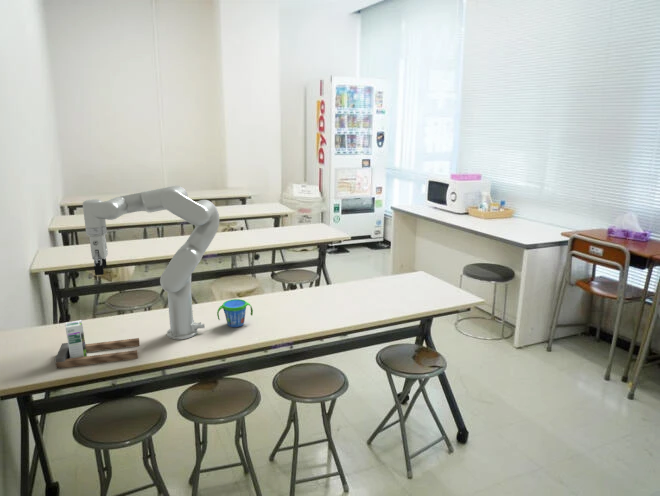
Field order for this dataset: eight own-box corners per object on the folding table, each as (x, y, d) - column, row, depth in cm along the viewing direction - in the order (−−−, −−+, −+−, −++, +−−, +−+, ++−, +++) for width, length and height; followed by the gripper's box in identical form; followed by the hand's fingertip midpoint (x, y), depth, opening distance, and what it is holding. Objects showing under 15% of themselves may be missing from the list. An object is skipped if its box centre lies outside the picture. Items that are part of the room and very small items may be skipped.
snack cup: (218, 331, 213) (217, 309, 210) (217, 321, 223) (216, 300, 220) (254, 327, 216) (253, 306, 214) (252, 318, 226) (251, 297, 224)
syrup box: (70, 363, 184) (65, 327, 181) (69, 356, 189) (64, 321, 186) (87, 359, 187) (82, 324, 183) (86, 353, 192) (81, 318, 188)
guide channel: (139, 343, 200) (138, 334, 199) (137, 358, 188) (136, 348, 187) (63, 352, 192) (62, 343, 191) (56, 368, 180) (54, 358, 179)
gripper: (103, 235, 190) (108, 276, 194) (108, 225, 206) (113, 264, 210) (82, 236, 187) (87, 278, 192) (89, 226, 203) (94, 265, 208)
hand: (101, 271), depth 201 cm, fingers open, 9 cm apart
